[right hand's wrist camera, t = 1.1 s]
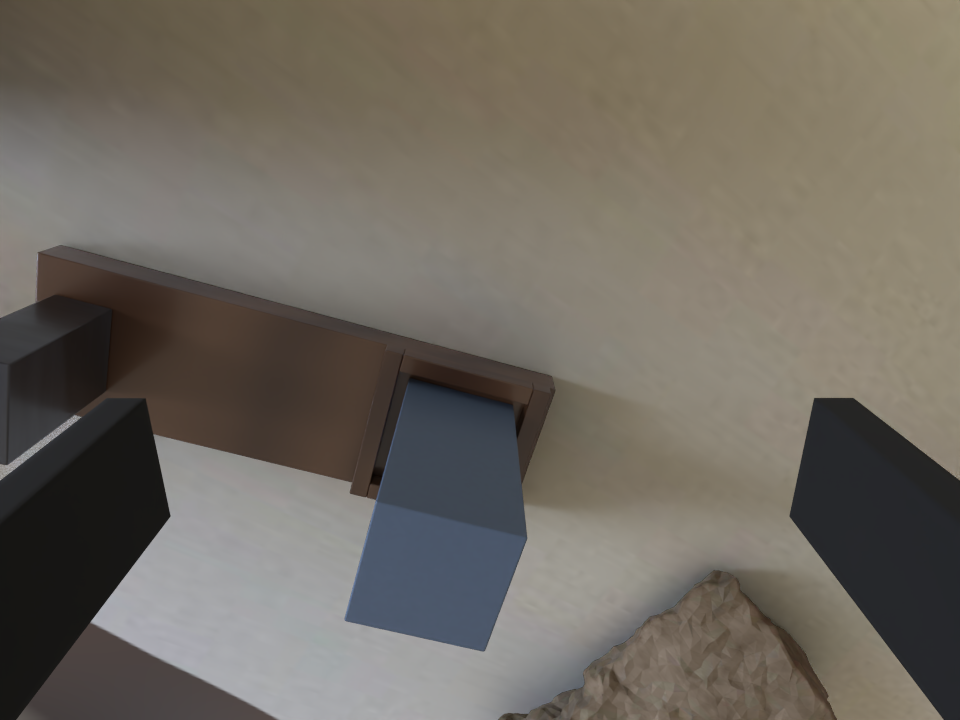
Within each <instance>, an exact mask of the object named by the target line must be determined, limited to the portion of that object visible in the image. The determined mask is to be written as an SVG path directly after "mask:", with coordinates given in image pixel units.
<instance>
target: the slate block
mask: <svg viewBox="0 0 960 720" xmlns="http://www.w3.org/2000/svg"><path fill="white" fill-rule="evenodd" d="M526 541H527V532H526V522H525V513H524V503H523V494H522V484H521V475H520V465H519V456H518V446H517V437H516V428H515V418H514V409H513V405H511V404H507V403H503V402H500V401H496V400H492V399H488V398H484V397H480V396H477V395H473V394H469V393H465V392H461V391H457V390H454V389H450V388H446V387H442V386H438V385H435V384H431V383H427V382H423V381H419V380H415V379H412V378H409V381H408V384H407V388H406V392H405V396H404V399H403V403H402V407H401V410H400V414H399V418H398V421H397V425H396V429H395V432H394V436H393V440H392V444H391V447H390V451H389V455H388V458H387V462H386V466H385V469H384V473H383V477H382V480H381V484H380V488H379V492H378V495H377V499H376V503H375V506H374V510H373V514H372V518H371V521H370V525H369V529H368V533H367V536H366V540H365V544H364V548H363V551H362V555H361V559H360V563H359V567H358V570H357V574H356V578H355V582H354V585H353V589H352V593H351V597H350V600H349V604H348V608H347V612H346V615H345V621H348V622H352V623H357V624H361V625H366V626H370V627H375V628H379V629H384V630H388V631H393V632H397V633H402V634H406V635H411V636H416V637H420V638H425V639H429V640H434V641H438V642H443V643H447V644H452V645H456V646H461V647H465V648H470V649H474V650H479V651H485V649H486V647H487V644H488V641H489V639H490V636H491V633H492V631H493V628H494V625H495V623H496V620H497V617H498V615H499V612H500V609H501V607H502V604H503V602H504V599H505V596H506V594H507V591H508V588H509V586H510V583H511V580H512V578H513V575H514V572H515V570H516V567H517V564H518V562H519V559H520V556H521V554H522V551H523V548H524V546H525V543H526Z"/></svg>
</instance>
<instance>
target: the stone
mask: <svg viewBox="0 0 960 720" xmlns="http://www.w3.org/2000/svg"><path fill="white" fill-rule="evenodd" d="M583 676H584V680H585V684H584V686H583V687H582V688H579V689H573V690H570V691H566V692H563V693H561V694H559V695H557V696H556V697H555V698H554V699H553V701H552V702H550V703H548V704H545V705H542V706H540V707H539V708H536V709H534V710H531V711H530V713H529V714H519V713H515V714H513V713H507V714H504V715H502V716H501V717H500V718H499V719H498V720H837V718H836V717H835V715H834V712H833V711H832V708H831V706H830V703H829V702H828V701H827V698H828V694H827V692H826V690H825V688H824V687H823V685H822V684H821V682H820V681H819V679H818V677H817V676H816V674H815V672H814V671H813V669H812V667H811V665H810V663H809V662H808V659H807V656H806V654H805V653H804V651H803V650H802V649H801V648H800V646H799V645H798V644H797V643H796V642H795V641H794V640H793V638H792V637H791V636H790V635H789V634H788V633H787V632H786V631H785V630H783V629H782V628H780V627H778V626H776V625H774V624H772V622H771V620H770V619H769V618H768V617H766V616H764V615H763V613H762V612H761V611H760V610H759V609H758V607H757V606H756V605H755V604H754V603H753V602H752V601H751V600H750V599H749V598H748V597H747V596H746V595H745V594H744V593H742V592H741V590H740V584H739V581H738V579H737V578H736V577H734V576H732V575H731V574H729V573H726V572H721V571H713V572H712V573H710V574H709V575H708V576H707V577H706V578H705V579H704V580H703V581H701V582H699V583H697V584H695V585H694V587H693V588H692V589H691V590H690V591H689V592H688V593H687V594H686V595H685V596H684V597H683V598H682V599H681V600H680V601H679V602H678V603H677V604H676V606H675V607H673V608H671V609H668V610H666V611H664V612H663V613H661V614H659V615H655V616H651V617H649V618H648V620H647V621H645V622H644V624H643V625H642V626H641V627H640V628H638V629H637V630H636V632H635V634H634V636H632V637H631V638H630V639H628V640H627V641H626V642H624V643H623V644H620V645H617V646H614V647H613V648H612V649H611V650H610V651H609V653H607V654H606V655H604V656H603V657H601V658H600V659H598V660H595V661H594V662H592V663H591V664H590V666H589V667H588V668H586V669H585V670H584V672H583Z"/></svg>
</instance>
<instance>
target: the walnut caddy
mask: <svg viewBox="0 0 960 720" xmlns="http://www.w3.org/2000/svg"><path fill="white" fill-rule="evenodd" d="M409 378H412V379H415V380H419V381H423V382H427V383H431V384H435V385H438V386H442V387H446V388H450V389H454V390H457V391H461V392H465V393H469V394H473V395H477V396H480V397H484V398H488V399H492V400H496V401H500V402H503V403H507V404H511V405H513V409H514V418H515V428H516V437H517V446H518V456H519V465H520V475H521V484H522V482H523V479H524V476H525V474H526V471H527V468H528V465H529V462H530V460H531V457H532V454H533V451H534V449H535V446H536V443H537V440H538V437H539V435H540V432H541V429H542V426H543V424H544V421H545V418H546V415H547V412H548V410H549V407H550V404H551V401H552V399H553V396H554V393H555V387H554V383H553V379H552V377H551V376H548V375H545V374H541V373H537V372H533V371H530V370H526V369H522V368H518V367H515V366H511V365H507V364H503V363H500V362H496V361H492V360H488V359H485V358H481V357H477V356H473V355H470V354H466V353H462V352H459V351H455V350H451V349H447V348H444V347H440V346H436V345H432V344H429V343H425V342H421V341H417V340H414V339H410V338H406V337H402V336H399V335H395V334H391V333H387V332H384V331H380V330H376V329H373V328H369V327H365V326H361V325H358V324H354V323H350V322H346V321H343V320H339V319H335V318H331V317H328V316H324V315H320V314H316V313H313V312H309V311H305V310H302V309H298V308H294V307H290V306H287V305H283V304H279V303H275V302H272V301H268V300H264V299H260V298H257V297H253V296H249V295H245V294H242V293H238V292H234V291H230V290H227V289H223V288H219V287H216V286H212V285H208V284H204V283H201V282H197V281H193V280H189V279H186V278H182V277H178V276H174V275H171V274H167V273H163V272H159V271H156V270H152V269H148V268H144V267H141V266H137V265H133V264H130V263H126V262H122V261H118V260H115V259H111V258H107V257H103V256H100V255H96V254H92V253H88V252H85V251H81V250H77V249H73V248H70V247H66V246H62V245H59V246H56V247H53V248H50V249H47V250H44V251H41V252H38V253H37V277H36V303H34V304H32V305H30V306H27V307H25V308H23V309H20V310H18V311H16V312H13V313H11V314H9V315H7V316H4V317H2V318H0V464H3V465H8V464H10V463H11V462H12V461H14V460H15V459H16V458H18V457H19V456H20V455H22V454H23V453H24V452H26V451H27V450H28V449H30V448H31V447H32V446H34V445H35V444H36V443H38V442H39V441H40V440H42V439H43V438H44V437H46V436H47V435H48V434H50V433H51V432H52V431H54V430H55V429H56V428H58V427H59V426H60V425H62V424H63V423H64V422H66V421H67V420H68V419H70V418H71V417H72V416H74V415H77V416H81V417H83V416H84V415H86V414H87V413H88V412H89V411H91V410H92V409H93V408H95V407H96V406H97V405H98V404H100V403H101V402H102V401H104V400H105V399H106V398H146V402H147V407H148V412H149V416H150V421H151V426H152V431H153V434H155V435H159V436H163V437H167V438H172V439H176V440H180V441H184V442H188V443H192V444H196V445H200V446H205V447H209V448H213V449H217V450H221V451H225V452H229V453H233V454H237V455H242V456H246V457H250V458H254V459H258V460H262V461H266V462H270V463H275V464H279V465H283V466H287V467H291V468H295V469H299V470H303V471H308V472H312V473H316V474H320V475H324V476H328V477H332V478H336V479H340V480H345V481H349V482H352V485H351V490H350V494H354V495H358V496H362V497H368V498H371V499H375V500H376V499H377V495H378V492H379V488H380V484H381V480H382V477H383V473H384V469H385V466H386V462H387V458H388V455H389V451H390V447H391V444H392V440H393V436H394V432H395V429H396V425H397V421H398V418H399V414H400V410H401V407H402V403H403V399H404V396H405V392H406V388H407V384H408V381H409Z"/></svg>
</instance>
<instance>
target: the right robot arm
mask: <svg viewBox="0 0 960 720" xmlns="http://www.w3.org/2000/svg"><path fill="white" fill-rule="evenodd" d="M169 518H170V512H169V507H168V502H167V497H166V492H165V488H164V483H163V478H162V473H161V469H160V464H159V459H158V454H157V450H156V445H155V440H154V435H153V431H152V426H151V421H150V416H149V412H148V407H147V402H146V398H106V399H105V400H104V401H102V402H101V403H100V404H98V405H97V406H96V407H95V408H93V409H92V410H91V411H89V412H88V413H87V414H86V415H84V416H83V417H82V418H80V419H79V420H78V421H77V422H75V423H74V424H73V425H71V426H70V427H69V428H68V429H66V430H65V431H64V432H62V433H61V434H60V435H58V436H57V437H56V438H55V439H53V440H52V441H51V442H49V443H48V444H47V445H46V446H44V447H43V448H42V449H40V450H39V451H38V452H37V453H35V454H34V455H33V456H31V457H30V458H29V459H28V460H26V461H25V462H24V463H22V464H21V465H20V466H19V467H17V468H16V469H15V470H13V471H12V472H11V473H9V474H8V475H7V476H6V477H4V478H3V479H2V480H0V720H16V719H17V718H18V717H19V715H20V714H21V713H22V711H23V710H24V709H25V707H26V706H27V705H28V703H29V702H30V701H31V699H32V698H33V697H34V695H35V694H36V693H37V692H38V690H39V689H40V688H41V686H42V685H43V684H44V682H45V681H46V680H47V678H48V677H49V676H50V674H51V673H52V672H53V670H54V669H55V668H56V666H57V665H58V664H59V663H60V661H61V660H62V659H63V657H64V656H65V655H66V653H67V652H68V651H69V649H70V648H71V647H72V645H73V644H74V643H75V641H76V640H77V639H78V638H79V636H80V635H81V634H82V632H83V631H84V630H85V628H86V627H87V626H88V624H89V623H90V622H91V620H92V619H93V618H94V616H95V615H96V614H97V613H98V611H99V610H100V609H101V607H102V606H103V605H104V603H105V602H106V601H107V599H108V598H109V597H110V595H111V594H112V593H113V591H114V590H115V589H116V587H117V586H118V585H119V584H120V582H121V581H122V580H123V578H124V577H125V576H126V574H127V573H128V572H129V570H130V569H131V568H132V566H133V565H134V564H135V562H136V561H137V560H138V558H139V557H140V556H141V555H142V553H143V552H144V551H145V549H146V548H147V547H148V545H149V544H150V543H151V541H152V540H153V539H154V537H155V536H156V535H157V533H158V532H159V531H160V530H161V528H162V527H163V526H164V524H165V523H166V522H167V520H168V519H169ZM790 518H791V519H792V520H793V522H794V523H795V524H796V526H797V527H798V528H799V530H800V531H801V532H802V533H803V535H804V536H805V537H806V539H807V540H808V541H809V543H810V544H811V545H812V547H813V548H814V549H815V551H816V552H817V553H818V555H819V556H820V557H821V558H822V560H823V561H824V562H825V564H826V565H827V566H828V568H829V569H830V570H831V572H832V573H833V574H834V576H835V577H836V578H837V580H838V581H839V582H840V584H841V585H842V586H843V587H844V589H845V590H846V591H847V593H848V594H849V595H850V597H851V598H852V599H853V601H854V602H855V603H856V605H857V606H858V607H859V609H860V610H861V611H862V613H863V614H864V615H865V616H866V618H867V619H868V620H869V622H870V623H871V624H872V626H873V627H874V628H875V630H876V631H877V632H878V634H879V635H880V636H881V638H882V639H883V640H884V641H885V643H886V644H887V645H888V647H889V648H890V649H891V651H892V652H893V653H894V655H895V656H896V657H897V659H898V660H899V661H900V663H901V664H902V665H903V667H904V668H905V669H906V670H907V672H908V673H909V674H910V676H911V677H912V678H913V680H914V681H915V682H916V684H917V685H918V686H919V688H920V689H921V690H922V692H923V693H924V694H925V695H926V697H927V698H928V699H929V701H930V702H931V703H932V705H933V706H934V707H935V709H936V710H937V711H938V713H939V714H940V715H941V717H942V718H943V719H944V720H960V480H958V479H957V478H956V477H954V476H953V475H952V474H951V473H949V472H948V471H947V470H945V469H944V468H943V467H941V466H940V465H939V464H938V463H936V462H935V461H934V460H932V459H931V458H930V457H929V456H927V455H926V454H925V453H923V452H922V451H921V450H920V449H918V448H917V447H916V446H914V445H913V444H912V443H911V442H909V441H908V440H907V439H905V438H904V437H903V436H902V435H900V434H899V433H898V432H896V431H895V430H894V429H892V428H891V427H890V426H889V425H887V424H886V423H885V422H883V421H882V420H881V419H880V418H878V417H877V416H876V415H874V414H873V413H872V412H871V411H869V410H868V409H867V408H865V407H864V406H863V405H862V404H860V403H859V402H858V401H856V400H855V399H854V398H814V402H813V407H812V411H811V416H810V421H809V426H808V431H807V435H806V440H805V445H804V450H803V454H802V459H801V464H800V469H799V473H798V478H797V483H796V488H795V492H794V497H793V502H792V507H791V511H790Z"/></svg>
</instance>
